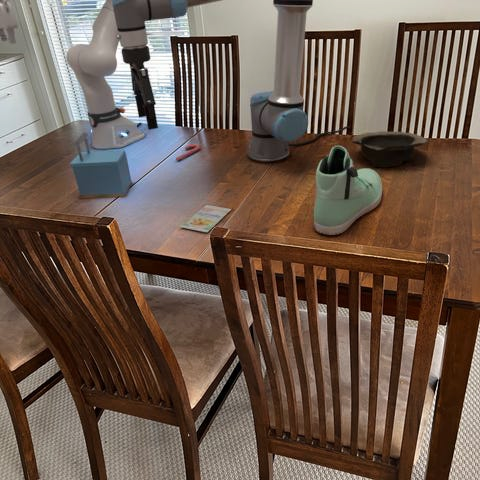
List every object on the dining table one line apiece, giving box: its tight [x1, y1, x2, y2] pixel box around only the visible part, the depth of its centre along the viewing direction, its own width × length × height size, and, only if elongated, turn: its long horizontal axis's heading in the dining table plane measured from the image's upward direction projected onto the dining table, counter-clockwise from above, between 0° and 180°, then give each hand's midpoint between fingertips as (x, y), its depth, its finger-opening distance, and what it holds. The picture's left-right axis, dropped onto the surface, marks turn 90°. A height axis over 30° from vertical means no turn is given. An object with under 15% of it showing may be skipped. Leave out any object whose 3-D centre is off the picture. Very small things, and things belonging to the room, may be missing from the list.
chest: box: [72, 154, 133, 199], centre depth 159 cm, size 15×10×11 cm
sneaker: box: [313, 145, 383, 236], centre depth 133 cm, size 14×35×20 cm, turn 152°
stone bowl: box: [351, 131, 429, 168], centre depth 166 cm, size 25×25×9 cm
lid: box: [69, 132, 127, 168], centre depth 154 cm, size 15×10×8 cm, turn 87°
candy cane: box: [175, 143, 201, 162], centre depth 185 cm, size 6×15×2 cm, turn 145°
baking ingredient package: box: [180, 204, 232, 233], centre depth 139 cm, size 9×1×15 cm
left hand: (8, 42), depth 158 cm, fingers open, 8 cm apart
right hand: (148, 122), depth 142 cm, fingers open, 13 cm apart
